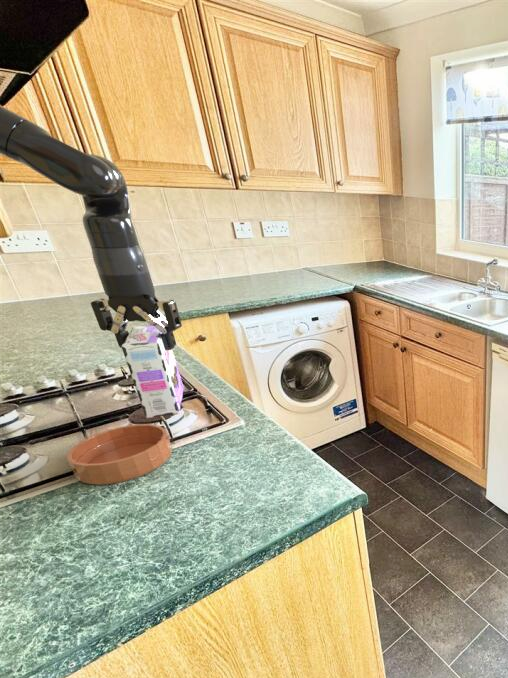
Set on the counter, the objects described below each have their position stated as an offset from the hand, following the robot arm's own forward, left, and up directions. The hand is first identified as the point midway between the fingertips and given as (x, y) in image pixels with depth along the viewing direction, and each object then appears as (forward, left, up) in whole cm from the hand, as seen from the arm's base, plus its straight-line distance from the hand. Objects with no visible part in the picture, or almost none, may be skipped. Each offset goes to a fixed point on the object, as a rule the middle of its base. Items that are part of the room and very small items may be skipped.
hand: (149, 349), depth 88 cm
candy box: (0, 0, -13) cm, 13 cm away
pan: (0, -16, -18) cm, 24 cm away
